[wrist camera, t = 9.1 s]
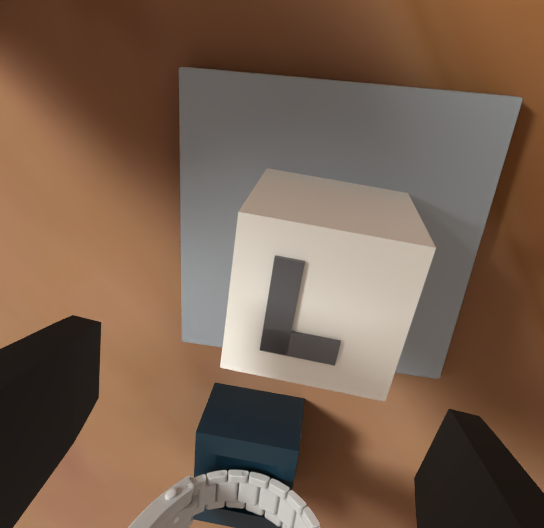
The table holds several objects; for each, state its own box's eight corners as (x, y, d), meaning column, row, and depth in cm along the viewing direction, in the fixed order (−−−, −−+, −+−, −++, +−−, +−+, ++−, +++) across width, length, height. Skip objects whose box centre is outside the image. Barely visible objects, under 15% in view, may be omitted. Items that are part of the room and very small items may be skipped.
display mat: (186, 66, 16) (178, 67, 15) (513, 95, 15) (523, 97, 14) (187, 331, 20) (181, 341, 20) (435, 367, 19) (439, 379, 19)
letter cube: (249, 290, 18) (219, 369, 13) (266, 168, 16) (237, 213, 11) (373, 314, 18) (385, 404, 13) (407, 192, 16) (437, 250, 11)
